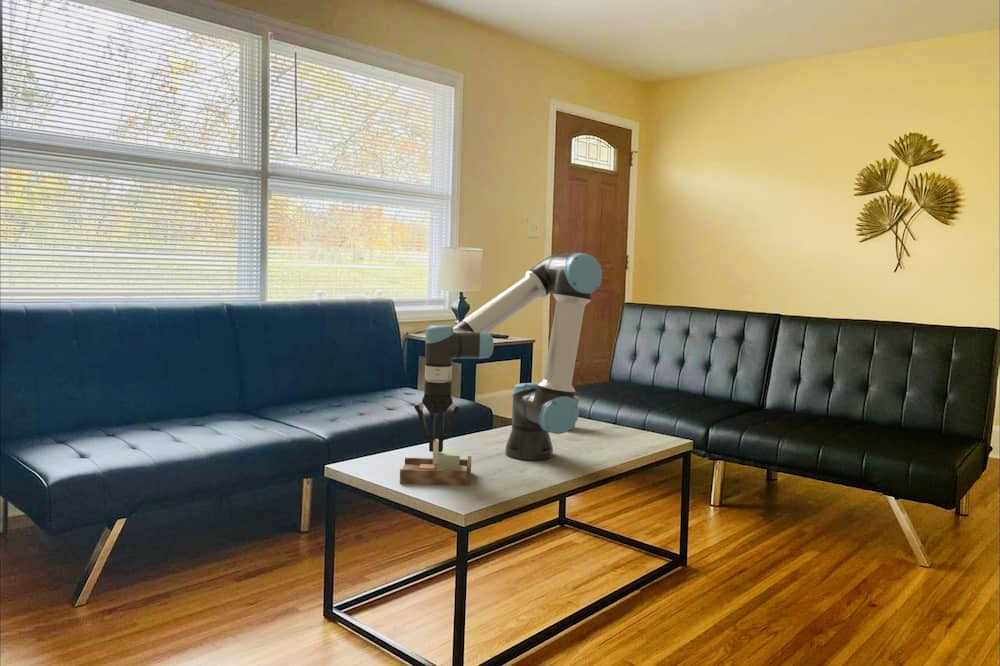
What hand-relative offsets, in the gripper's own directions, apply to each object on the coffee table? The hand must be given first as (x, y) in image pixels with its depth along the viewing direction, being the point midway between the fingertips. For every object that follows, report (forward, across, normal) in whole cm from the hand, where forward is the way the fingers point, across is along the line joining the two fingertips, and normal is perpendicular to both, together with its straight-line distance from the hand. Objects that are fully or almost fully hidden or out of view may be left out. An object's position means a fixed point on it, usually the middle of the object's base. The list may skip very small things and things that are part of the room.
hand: (435, 462), depth 218 cm
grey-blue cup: (+4, +43, +67) cm, 80 cm away
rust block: (+4, -2, -6) cm, 7 cm away
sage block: (+1, +4, 0) cm, 4 cm away
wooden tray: (+4, 0, -3) cm, 5 cm away
